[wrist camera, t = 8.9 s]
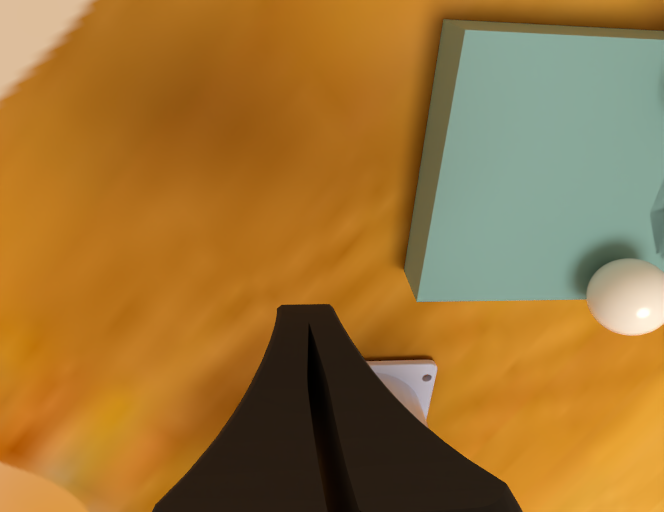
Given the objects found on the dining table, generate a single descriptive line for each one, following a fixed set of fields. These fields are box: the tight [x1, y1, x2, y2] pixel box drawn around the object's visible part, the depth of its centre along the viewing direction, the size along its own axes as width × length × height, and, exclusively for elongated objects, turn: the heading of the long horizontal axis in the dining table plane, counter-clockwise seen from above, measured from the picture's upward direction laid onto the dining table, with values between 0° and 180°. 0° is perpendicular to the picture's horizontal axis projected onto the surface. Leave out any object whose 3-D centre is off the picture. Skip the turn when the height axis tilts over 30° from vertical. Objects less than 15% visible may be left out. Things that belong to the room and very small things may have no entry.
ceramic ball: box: [586, 258, 664, 335], centre depth 22 cm, size 3×3×3 cm
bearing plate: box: [404, 19, 664, 302], centre depth 22 cm, size 19×11×2 cm, turn 86°
